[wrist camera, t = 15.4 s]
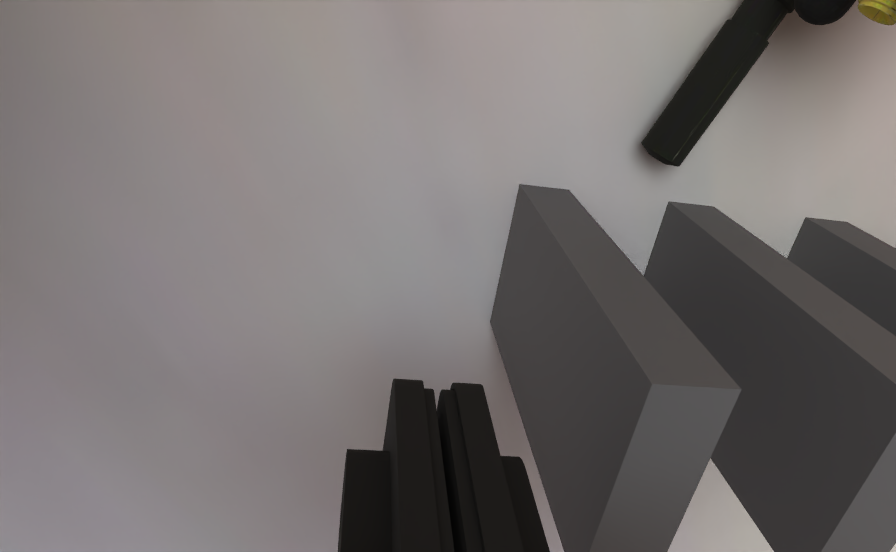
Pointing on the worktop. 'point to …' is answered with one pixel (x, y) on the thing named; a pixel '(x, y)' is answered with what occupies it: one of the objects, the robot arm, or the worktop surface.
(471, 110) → the worktop surface
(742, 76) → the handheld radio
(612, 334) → the domino
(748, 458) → the domino
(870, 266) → the domino
